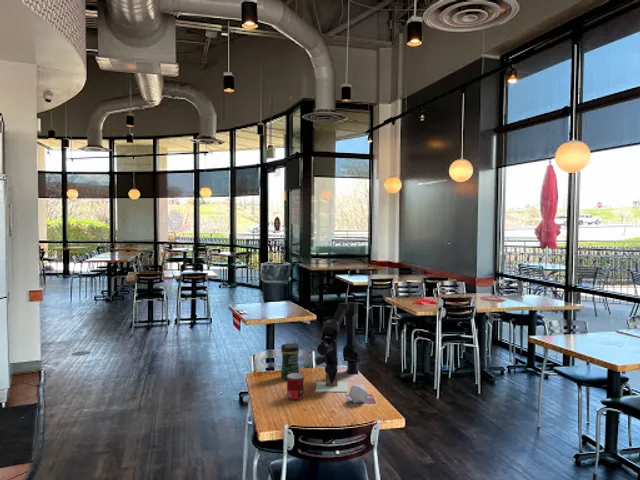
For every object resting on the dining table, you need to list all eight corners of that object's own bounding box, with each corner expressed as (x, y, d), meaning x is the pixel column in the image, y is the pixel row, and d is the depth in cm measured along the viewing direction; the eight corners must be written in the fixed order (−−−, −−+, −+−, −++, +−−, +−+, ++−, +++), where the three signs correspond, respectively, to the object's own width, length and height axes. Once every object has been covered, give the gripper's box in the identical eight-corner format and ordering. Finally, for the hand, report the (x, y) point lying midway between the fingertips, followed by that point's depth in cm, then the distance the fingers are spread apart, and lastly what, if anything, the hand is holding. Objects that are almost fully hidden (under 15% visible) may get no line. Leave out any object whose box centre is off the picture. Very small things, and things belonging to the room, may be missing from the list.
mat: (316, 382, 247) (316, 381, 247) (347, 382, 246) (347, 381, 246) (315, 392, 233) (315, 391, 233) (347, 392, 232) (347, 391, 232)
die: (364, 407, 214) (373, 388, 218) (347, 398, 214) (356, 379, 218) (359, 407, 222) (368, 388, 226) (343, 398, 222) (352, 380, 226)
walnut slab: (326, 384, 243) (325, 373, 243) (337, 384, 242) (337, 373, 242) (325, 386, 240) (325, 374, 240) (337, 386, 240) (337, 374, 240)
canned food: (301, 401, 221) (301, 378, 221) (285, 400, 223) (285, 377, 222) (305, 395, 229) (305, 373, 228) (289, 394, 230) (289, 372, 230)
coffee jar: (284, 380, 250) (283, 346, 250) (279, 376, 258) (279, 342, 257) (301, 378, 254) (300, 344, 254) (296, 374, 261) (295, 341, 261)
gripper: (316, 345, 250) (317, 374, 251) (314, 355, 232) (315, 386, 232) (337, 345, 250) (338, 374, 250) (337, 355, 231) (337, 386, 232)
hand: (331, 380), depth 241 cm, fingers open, 9 cm apart
